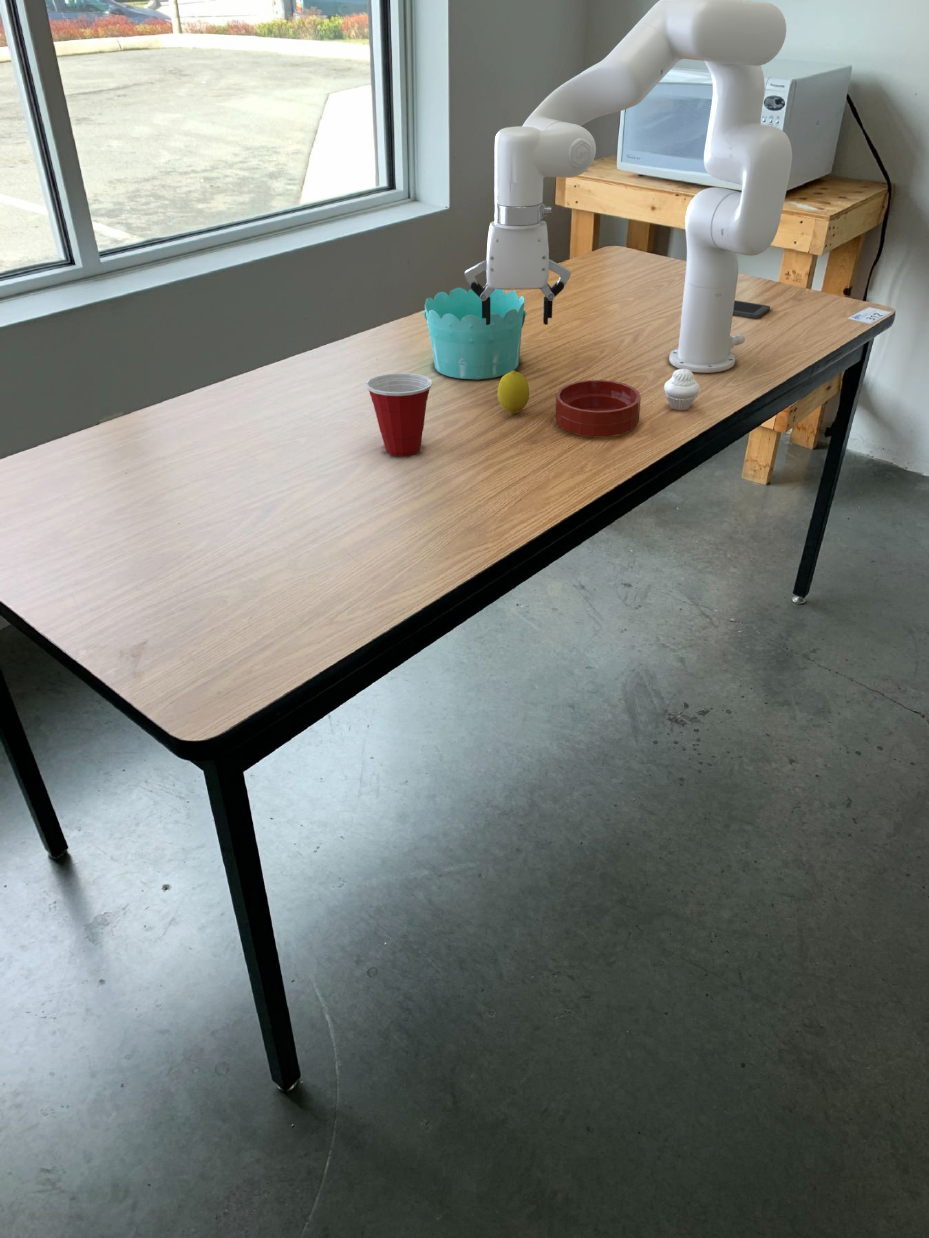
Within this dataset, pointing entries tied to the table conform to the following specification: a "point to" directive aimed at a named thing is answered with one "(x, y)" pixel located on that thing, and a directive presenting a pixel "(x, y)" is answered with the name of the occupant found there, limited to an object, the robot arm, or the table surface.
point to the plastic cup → (400, 410)
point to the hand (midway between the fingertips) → (516, 322)
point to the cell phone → (749, 309)
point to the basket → (475, 333)
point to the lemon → (513, 392)
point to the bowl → (597, 408)
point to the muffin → (681, 389)
